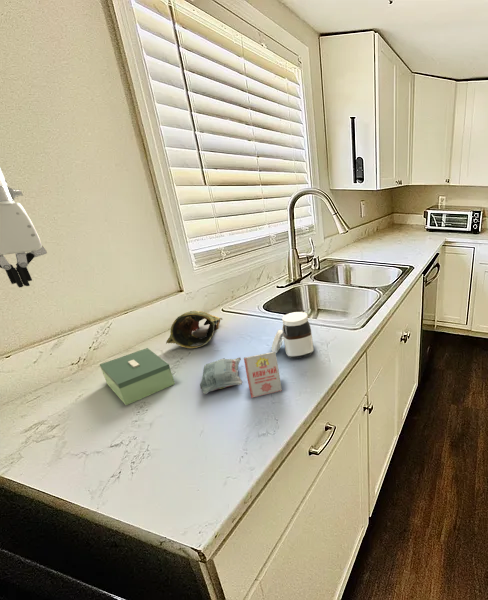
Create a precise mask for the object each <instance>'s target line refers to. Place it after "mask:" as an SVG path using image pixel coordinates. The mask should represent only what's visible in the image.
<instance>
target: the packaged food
mask: <svg viewBox="0 0 488 600" xmlns="http://www.w3.org/2000/svg"><path fill="white" fill-rule="evenodd" d="M241 361H242V358H241V357H237V358H225V357H224V358H220V359H217V360H215V361H211V362H209V363H206V364H205V365H204V367H203V371H202V377H201V381H200V383H199V388H200V390H201V392H202V393H203V394H204V395H208V394H209V392H214V391H218V390H219V391H220V390H222V389H226V388H230V387H233V386H236V385H237V386H240V385H243V380H242V379H241V377H240V376H239V371H238V370H239V366H240V362H241Z"/></svg>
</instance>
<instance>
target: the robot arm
mask: <svg viewBox="0 0 488 600" xmlns="http://www.w3.org/2000/svg"><path fill="white" fill-rule="evenodd" d="M3 172H4V171H3V169H2V168H1V166H0V269H3V270H4V271H5V272H6V275H7V277H8V279H9V281H10V284H11V285H14V284H16V286H17V287H18V288H23V287H30V286H31V285H30V282H32V281H33V279H32V276H31V274H30V272H29V269H28V268H27V267H28V265H29V264H30V263H31V262H32V261H33V259H34V258H38V257H41V256H44V255H47V254H48V252H47V250H46V247H44V246H43V244H42V240H41V238H40V236H39V234H38V231H37V229H36V227H35V225H34V223H33V221H32V220H31V217H30V216H29V214H28V213H27V211H26V209H25V208H24V206H23V205H22V204H21V202H20V201H19V202H17V201H15V199H16V198H18V197H23V196H24V195H23V193H22V190H21V189H19V188H18V189H15V188H12V187H10V186H9V184H8V182H7V180H6V177H5V175H4V173H3ZM13 254H14V255H15V258H16V259H15V260H16V263H15V267H14V265H13V264H11V263H9V260H7V259H6V257H5V255H13Z"/></svg>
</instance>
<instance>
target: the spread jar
mask: <svg viewBox="0 0 488 600" xmlns="http://www.w3.org/2000/svg"><path fill="white" fill-rule="evenodd" d="M308 316H309V315H308V313H306V312H303V311H293V312H289V313H286V314H285V315H283V316H282V318H281V319H282V327H281V329H280V328H279V329H278V330H277V332H276V333H275V335H274V338H273V341H272V344H271V351H270V352H276V354H278V353H279V352H280V349H281V347H282V344H284V350H285V354H286V356H287V358H288V359H293V360H297V359H298V360H299V359H303V358H307V357H308V356H310V355H312V354H313V353H314V341H313V332H312V327H311V324H310V322H309V317H308Z"/></svg>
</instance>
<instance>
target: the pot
mask: <svg viewBox="0 0 488 600" xmlns="http://www.w3.org/2000/svg"><path fill="white" fill-rule="evenodd" d="M202 320H205V321H204V323H203V326H207V325H209V326H208V329H207V331H206V334H205V336H203V337H199V336H196V335H195V334H193V332H197V330H200V328H201V327H200V322H201V321H202ZM222 320H223V317H218V316H216V315H212V314H210V313H208V312H206V311H201V310H198V311H197V310H190V311H187V312H184V313H182V314H181V315H179V316H177V317H176V318H175V320H174V321H173V323H172V324H171V327H170V333H169V334H170V335H169V337H168V338H167V340H166V341H165V345H167V344H175V345H177V346H179V347H182V348H185V349H186V348H187V349H196V348H200V347H203V346H205V345H207V344H208V342H210V341H211V339H212V338H213V337H214V334H215V333H216V331H217V330H219V328H220V323H221V321H222ZM197 344H199V345H197Z"/></svg>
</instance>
